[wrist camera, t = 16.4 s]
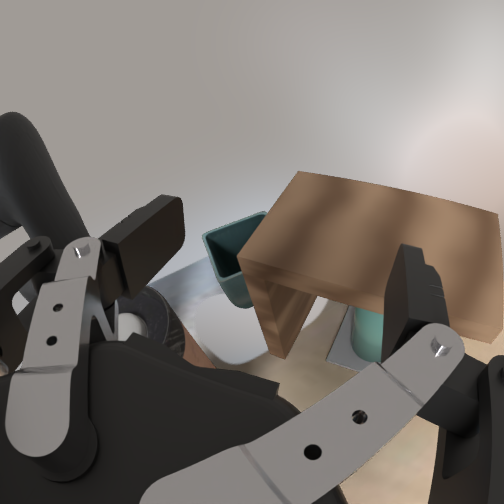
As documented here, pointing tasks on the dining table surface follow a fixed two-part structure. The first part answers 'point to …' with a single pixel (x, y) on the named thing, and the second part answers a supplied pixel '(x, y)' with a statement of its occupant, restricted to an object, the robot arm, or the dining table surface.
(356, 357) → the mat
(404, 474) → the dining table surface
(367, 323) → the teal glossy cylinder
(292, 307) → the brown wooden shelf stand
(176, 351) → the travel mug
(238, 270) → the flower pot
